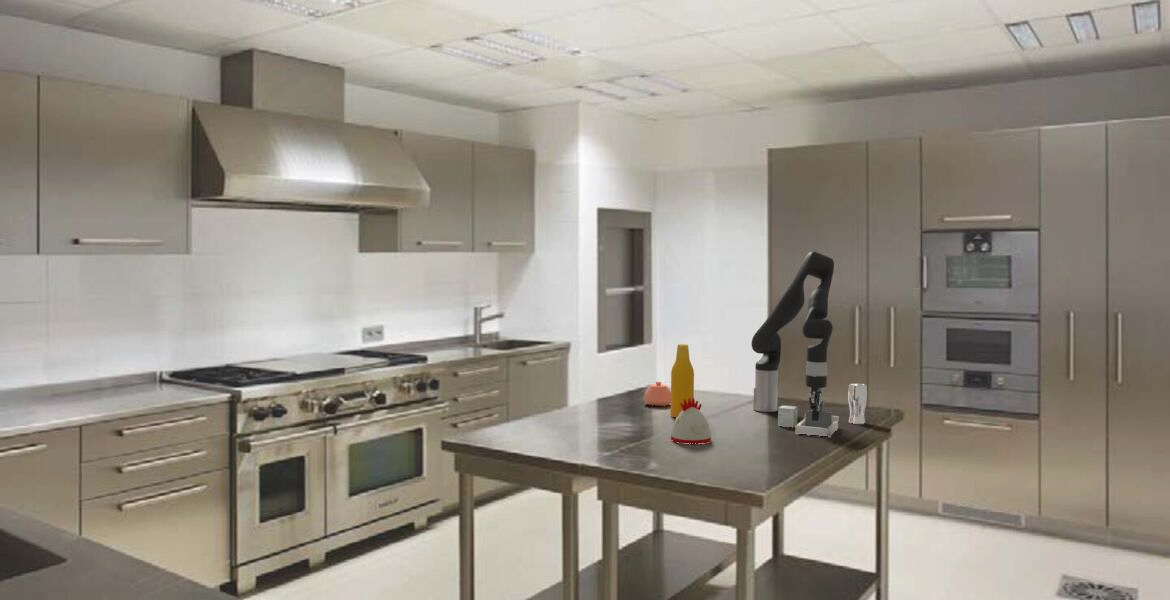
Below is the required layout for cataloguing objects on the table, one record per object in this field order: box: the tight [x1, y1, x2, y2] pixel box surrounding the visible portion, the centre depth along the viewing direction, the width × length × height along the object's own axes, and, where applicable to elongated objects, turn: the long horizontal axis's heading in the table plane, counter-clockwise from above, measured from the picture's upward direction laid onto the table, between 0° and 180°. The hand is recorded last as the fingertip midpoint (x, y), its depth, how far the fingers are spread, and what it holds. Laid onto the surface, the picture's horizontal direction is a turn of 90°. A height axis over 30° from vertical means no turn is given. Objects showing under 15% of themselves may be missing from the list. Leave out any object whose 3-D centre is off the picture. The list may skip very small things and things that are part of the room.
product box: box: [777, 405, 798, 429], centre depth 325 cm, size 6×6×7 cm
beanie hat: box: [670, 398, 712, 444], centre depth 298 cm, size 14×14×15 cm
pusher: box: [805, 400, 833, 428], centre depth 317 cm, size 9×1×10 cm, turn 65°
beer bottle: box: [670, 343, 695, 418], centre depth 341 cm, size 9×9×29 cm
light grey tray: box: [794, 412, 840, 438], centre depth 315 cm, size 12×18×5 cm
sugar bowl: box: [643, 381, 671, 407], centre depth 368 cm, size 12×14×10 cm
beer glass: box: [847, 382, 868, 425], centre depth 331 cm, size 7×7×15 cm
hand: (815, 420), depth 313 cm, fingers closed
